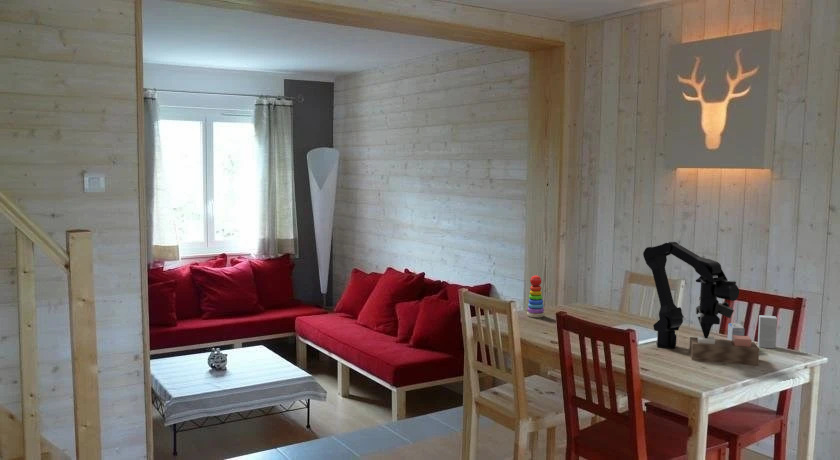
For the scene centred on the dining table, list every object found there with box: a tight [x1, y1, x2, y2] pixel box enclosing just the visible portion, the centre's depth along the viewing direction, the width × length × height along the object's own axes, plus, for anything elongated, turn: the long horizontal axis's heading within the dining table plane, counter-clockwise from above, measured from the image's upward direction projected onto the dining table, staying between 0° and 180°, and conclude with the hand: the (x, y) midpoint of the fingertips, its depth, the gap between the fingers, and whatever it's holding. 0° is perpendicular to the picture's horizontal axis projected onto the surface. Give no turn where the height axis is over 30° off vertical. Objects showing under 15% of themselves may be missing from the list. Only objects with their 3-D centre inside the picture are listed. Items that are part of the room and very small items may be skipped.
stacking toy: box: [526, 275, 545, 318], centre depth 322 cm, size 8×8×19 cm
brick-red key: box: [732, 335, 753, 347], centre depth 255 cm, size 6×6×4 cm
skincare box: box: [757, 314, 778, 349], centre depth 275 cm, size 6×4×12 cm
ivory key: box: [696, 335, 716, 344], centre depth 258 cm, size 6×6×4 cm
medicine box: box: [726, 322, 745, 340], centre depth 273 cm, size 8×4×9 cm, turn 168°
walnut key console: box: [688, 336, 760, 366], centre depth 257 cm, size 22×10×6 cm, turn 75°
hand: (706, 337), depth 258 cm, fingers closed, pressing on ivory key
